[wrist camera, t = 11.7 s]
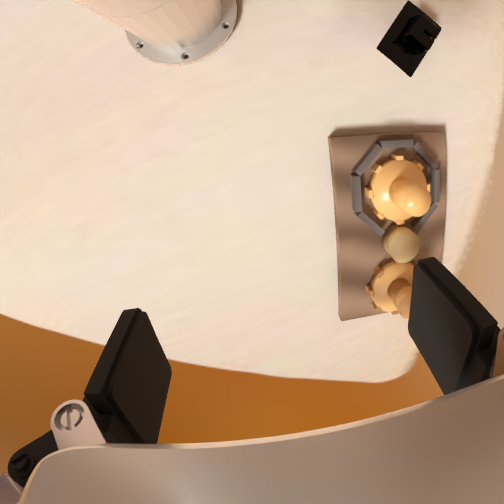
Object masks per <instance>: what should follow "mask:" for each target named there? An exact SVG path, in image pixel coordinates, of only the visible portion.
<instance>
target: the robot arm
mask: <svg viewBox="0 0 504 504" xmlns="http://www.w3.org/2000/svg"><path fill="white" fill-rule="evenodd" d="M73 1H75V2H77V3H79V4H81V5H83V6H85V7H87V8H89V9H91V10H92V11H94V12H96V13H98V14H100V15H101V16H103V17H105V18H107V19H108V20H110V21H112V22H114V23H115V24H117V25H119V26H120V27H122V28H124V29H125V32H126V36H127V39H128V41H129V43H130V44H131V46H132V47H133V48H134V49H135V51H136V52H138V53H139V54H140V55H141V56H143V57H144V58H146V59H148V60H150V61H153V62H156V63H159V64H164V65H183V64H189V63H192V62H195V61H198V60H201V59H203V58H205V57H207V56H208V55H210V54H212V53H213V52H214V51H216V50H217V49H218V48H220V46H221V45H222V44H223V43H224V42H225V41H226V40H227V38H228V37H229V35H230V34H231V32H232V30H233V28H234V25H235V23H236V17H237V4H236V0H73ZM225 25H227V26H228V28H224V26H225ZM142 44H143V47H142V48H140V46H141V45H142ZM186 55H188V56H189V57H188V59H185V58H184V57H185V56H186ZM497 324H498V322H497V321H496V320H495V319H494V318H493V316H492V315H491V314H490V313H489V312H488V311H487V310H486V309H485V308H484V307H483V305H482V304H481V303H480V302H479V301H478V300H477V299H476V298H475V297H474V296H473V295H472V294H471V293H470V292H469V291H468V290H467V289H466V288H465V286H463V284H462V283H461V282H460V281H459V280H458V279H457V278H456V277H455V276H454V275H453V274H452V273H451V272H450V271H449V270H448V269H447V268H446V267H445V266H444V265H442V264H441V263H440V262H439V261H438V260H437V259H436V258H435V257H428V258H424V259H419V260H418V262H417V264H415V265H414V268H413V280H412V292H411V303H410V312H409V321H408V331H409V334H410V336H411V338H412V339H413V341H414V343H415V344H416V346H417V348H418V349H419V351H420V353H421V354H422V356H423V358H424V359H425V361H426V363H427V365H428V367H429V368H430V370H431V372H432V374H433V375H434V377H435V379H436V381H437V383H438V384H439V386H440V388H441V390H442V392H443V394H444V396H441V397H438V398H435V399H432V400H429V401H426V402H423V403H420V404H417V405H414V406H411V407H408V408H404V409H401V410H397V411H394V412H390V413H387V414H383V415H379V416H376V417H372V418H368V419H364V420H360V421H355V422H351V423H347V424H342V425H337V426H333V427H328V428H323V429H318V430H312V431H306V432H301V433H294V434H288V435H281V436H274V437H265V438H257V439H248V440H238V441H225V442H210V443H188V444H187V443H186V444H157V441H158V435H159V431H160V426H161V421H162V417H163V411H164V407H165V402H166V398H167V393H168V388H169V384H170V380H171V375H172V374H171V373H172V372H171V367H170V364H169V362H168V360H167V358H166V356H165V354H164V352H163V349H162V347H161V345H160V343H159V341H158V338H157V336H156V334H155V331H154V329H153V327H152V325H151V322H150V320H149V317H148V315H147V313H146V312H142V311H141V309H139V308H136V309H128V310H124V311H123V312H122V314H121V316H120V318H119V320H118V322H117V324H116V326H115V328H114V330H113V332H112V334H111V336H110V338H109V340H108V342H107V344H106V346H105V348H104V350H103V352H102V354H101V356H100V358H99V361H98V363H97V365H96V367H95V369H94V371H93V374H92V376H91V378H90V380H89V382H88V385H87V387H86V389H85V392H84V395H85V397H84V399H83V401H81V400H70V401H67V402H64V403H63V404H61V405H60V406H59V407H58V408H57V409H56V410H55V411H54V413H53V415H52V417H51V428H52V430H51V431H49V432H47V433H46V434H44V435H43V436H41V437H39V438H38V439H36V440H34V441H33V442H31V443H29V444H28V445H26V446H25V447H23V448H21V449H20V450H18V451H17V452H16V453H14V454H13V456H12V457H11V458H10V461H9V463H8V475H6V474H4V473H3V474H2V475H1V476H0V504H504V328H503V329H501V330H500V329H499V327H498V326H497Z"/></svg>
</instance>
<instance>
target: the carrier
mask: <svg viewBox="0 0 504 504" xmlns="http://www.w3.org/2000/svg"><path fill="white" fill-rule="evenodd" d="M328 143H329V152H330V162H331V172H332V183H333V195H334V209H335V224H336V241H337V263H338V297H339V317H340V319H341V321H345V320H350V319H356V318H361V317H366V316H371V315H377V314H381V313H386V312H391V313H392V314H393V315H394V314H399V313H400V314H401V316H402V317H403V318H409V312H410V303H411V292H412V280H413V268H414V265H415V264H417V262H418V260H419V259H424V258H428V257H435V258H436V259H437V260H438V261H439V262H440V263H441V259H442V249H443V238H444V225H445V207H446V138H445V133H442V132H410V133H385V134H367V135H353V136H340V137H329V138H328ZM391 154H399V155H402V156H403V159H405V160H407V161H410V162H412V161H413V160H414V161H417V162H419V163H420V164H421V165H422V166H423V167H424V168H423V169H422V172H423V174H424V176H425V179H426V183H428V184H430V192H429V193H430V195H431V205H430V208H429V210H428V211H427V212H426V213H425V214H424V215H422V216H419V217H414V216H412V217H411V218H409V219H406V220H404V224H400V225H397V224H396V223H395V222H394V221H393V220H390V219H387V218H385V217H384V218H383V219H382V220H381V219H380V218H379V217H378V216H377V215H376V214H374V213H373V212H372V211H373V209H374V207H373V205H372V204H371V202H370V199H369V198H368V197H367V196H365V195H364V187H368V183H369V179H370V176H371V174H372V172H373V171H372V170H371V169H370V168H371V167H372V166H373V164H374V163H376V164H378V165H379V164H380V163H381V162H383V161H385V160H387V159H390V158H391Z"/></svg>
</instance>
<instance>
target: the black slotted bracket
mask: <svg viewBox="0 0 504 504" xmlns="http://www.w3.org/2000/svg"><path fill="white" fill-rule="evenodd" d="M440 31H441V27H440V26H439V25H438V24H437V23H436V22H434V21H433V20H432V19H431V18H430V17H429V16H427V15H426V14H425V13H424V12H423V11H421V10H420V9H419V8H418V7H416V6H415V5H414V4H413V3H411V2H410V1H407V3H406V4H405V6H404V7H403V9H402V10H401V12H400V13H399V15H398V16H397V18H396V19H395V21H394V22H393V24H392V25H391V27H390V28H389V30H388V31H387V33H386V34H385V36H384V37H383V39H382V40H381V42H380V43H379V45H378V46H377V49H378V50H379V51H380V52H381V53H383V54H384V55H385V56H386V57H388V58H389V59H390V60H391V61H392V62H393V63H395V64H396V65H397V66H398V67H399V68H400V69H402V70H403V71H404V72H405V73H406V74H407V75H408V76H409V77H412V75H413V73H414V72H415V70H416V69H417V67H418V66H419V64H420V62H421V61H422V59H423V58H424V56H425V54H426V53H427V51H428V50H429V49H430V48H431V46H432V44H433V43H434V40H435V38H437V36H438V34H439V33H440Z"/></svg>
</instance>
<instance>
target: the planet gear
mask: <svg viewBox="0 0 504 504" xmlns="http://www.w3.org/2000/svg"><path fill="white" fill-rule="evenodd" d="M423 168H424V167H423V166H422V165H421V164H420V163H419V162H417V161H414V160H413V161H412V162H410V161H407V160H405V159H403V156H402V155H399V154H391V158H390V159H387V160H385V161H383V162H381V163H380V164H379V165H378V164H376V163H374V164H373V166H372V167H371V168H370V169H371V170H372V171H373V172H372V174H371V176H370V179H369V183H368V187H364V195H365V196H367V197H368V198H369V199H370V202H371V204H372V205H373V207H374V209H373V211H372V212H373V213H374V214H376V215H377V216H378V217H379V218H380V219H381V220H382V219H383V218H384V217H385V218H387V219H390V220H393V221H394V222H395V223H396V224H397V225H400V224H404V220H406V219H409V218H411V217H412V216H414V217H419V216H422V215H424V214H425V213H426V212H427V211H428V210H429V208H430V205H431V195H430V193H429V192H430V184H428V183H426V179H425V176H424V174H423V172H422V169H423Z"/></svg>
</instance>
